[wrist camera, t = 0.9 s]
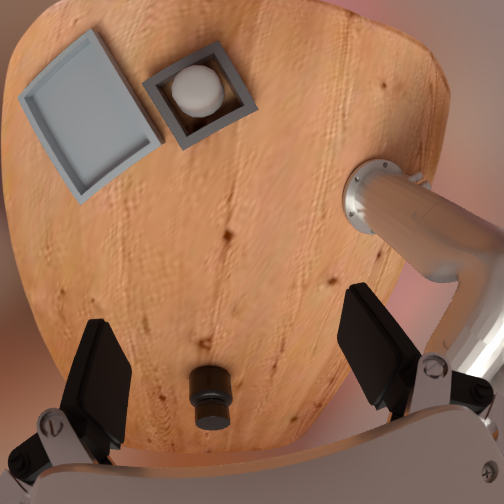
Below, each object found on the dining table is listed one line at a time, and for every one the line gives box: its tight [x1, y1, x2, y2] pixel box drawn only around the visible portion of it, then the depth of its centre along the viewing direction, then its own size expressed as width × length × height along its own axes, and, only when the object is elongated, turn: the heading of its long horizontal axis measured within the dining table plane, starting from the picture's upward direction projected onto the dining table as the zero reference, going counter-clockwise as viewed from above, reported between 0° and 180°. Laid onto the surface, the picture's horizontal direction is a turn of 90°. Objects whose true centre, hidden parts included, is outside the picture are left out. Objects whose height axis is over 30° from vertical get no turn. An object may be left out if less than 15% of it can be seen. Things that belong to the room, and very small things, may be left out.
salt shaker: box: [171, 65, 225, 117], centre depth 25 cm, size 6×6×13 cm
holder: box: [142, 41, 259, 151], centre depth 29 cm, size 10×10×4 cm
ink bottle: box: [189, 366, 233, 430], centre depth 51 cm, size 10×9×12 cm
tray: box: [17, 29, 165, 205], centre depth 28 cm, size 14×20×3 cm
